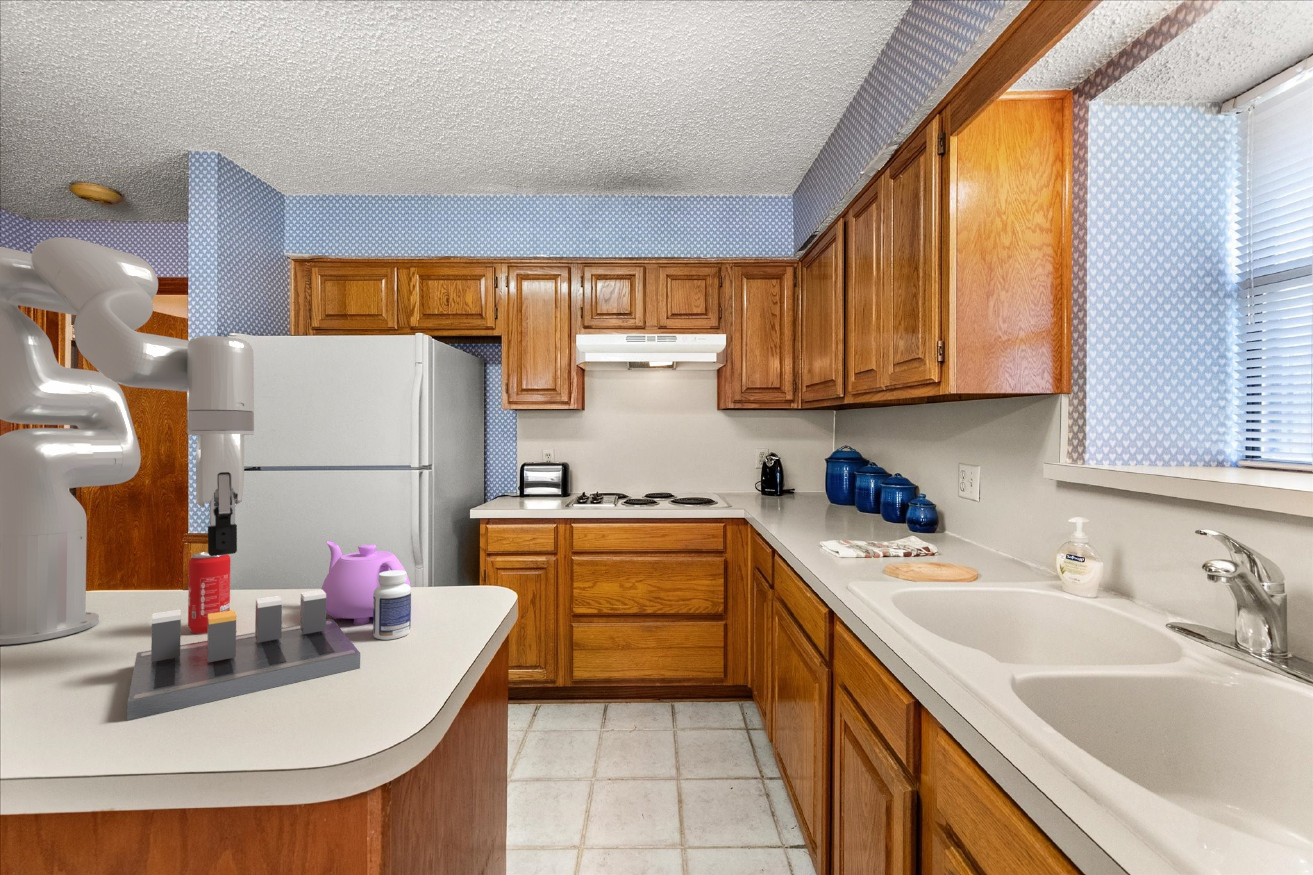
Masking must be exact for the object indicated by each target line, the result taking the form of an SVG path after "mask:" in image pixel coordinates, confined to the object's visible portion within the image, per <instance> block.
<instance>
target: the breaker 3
mask: <svg viewBox="0 0 1313 875" xmlns="http://www.w3.org/2000/svg"><path fill="white" fill-rule="evenodd" d="M299 614H300V619H299V620H300V624H299V625H300V629H301V631H302V632H303V634H308V633H314V632H319V631H325V630H326V620H327V612H326V593H325V592H324V591H323V590H321V589H317V590H316V589H315V590H309V591H302V592H300V613H299Z"/></svg>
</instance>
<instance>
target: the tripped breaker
mask: <svg viewBox="0 0 1313 875" xmlns="http://www.w3.org/2000/svg"><path fill="white" fill-rule="evenodd" d="M236 636H237V613H236V610H235V609H232V610H230V611H224V612H217V613H210V614H208V633H207V640H206V641H207V657H208V662H214V661H219V660H224V659H229V658H235V657H236Z"/></svg>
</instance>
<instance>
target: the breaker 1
mask: <svg viewBox="0 0 1313 875" xmlns="http://www.w3.org/2000/svg"><path fill="white" fill-rule="evenodd" d="M181 611H182V610H181V609H174V610H167V611H159V612H154V613H152V615H151V646H150V648H151V649H150V650H151V662H154V661H160V660H165V659H171V658H176V657H180V645H181V635H182V634H181V632H182V631H181V628H182V627H181V626H182V625H181V624H182V623H181V622H182V621H181V620H182V612H181Z"/></svg>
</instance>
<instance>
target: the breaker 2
mask: <svg viewBox="0 0 1313 875" xmlns="http://www.w3.org/2000/svg"><path fill="white" fill-rule="evenodd" d="M282 615H283V600H282V598H281V596H280V595H274V596H273V595H272V596H266V597H260V598H259V597H258V598H255V626H254V627H255V631H254V633H255V638H256V640H257V643H259V642H264V641H270V640H275V639H281V637H282V628H283V627H282V626H283V625H282V624H283V616H282Z"/></svg>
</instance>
